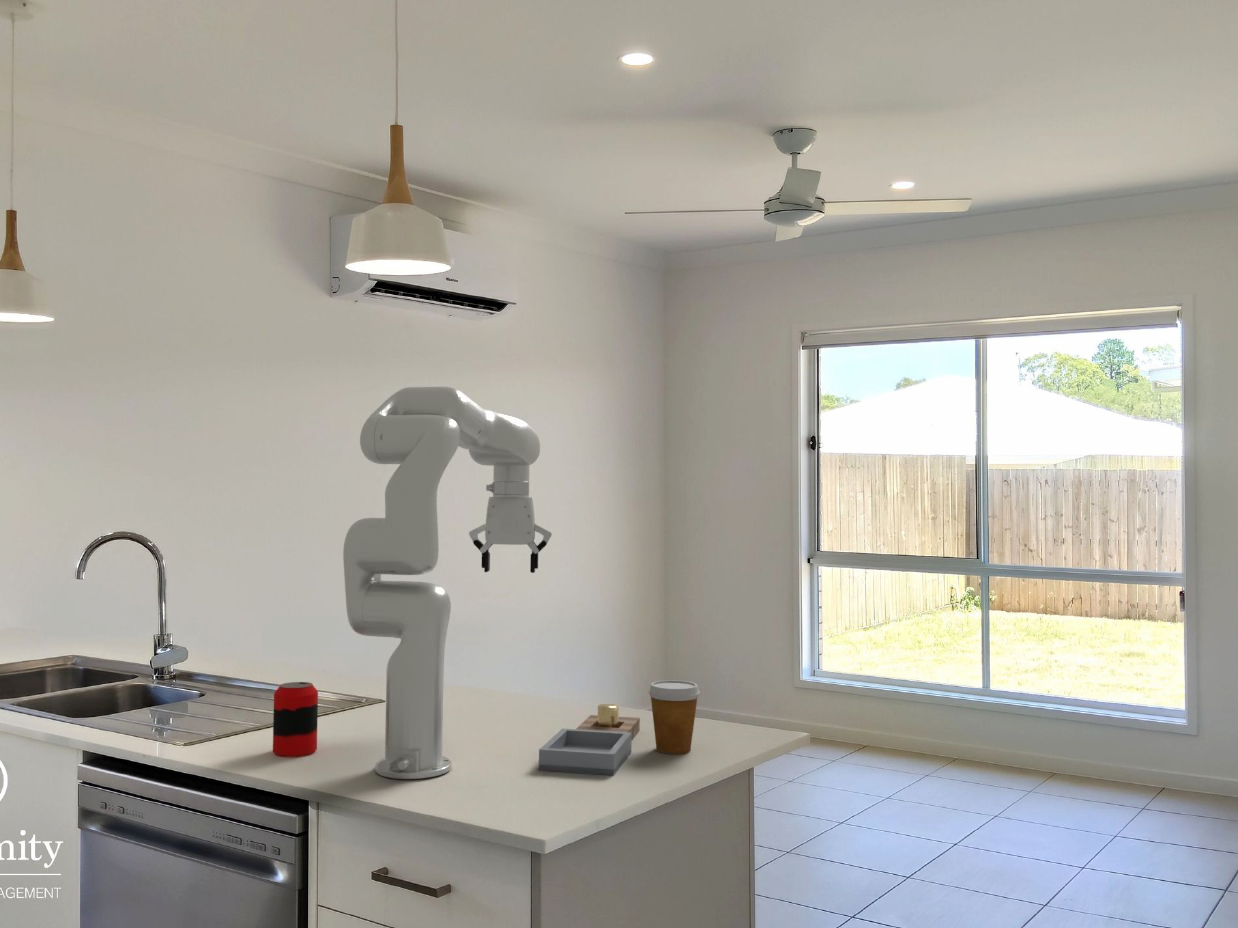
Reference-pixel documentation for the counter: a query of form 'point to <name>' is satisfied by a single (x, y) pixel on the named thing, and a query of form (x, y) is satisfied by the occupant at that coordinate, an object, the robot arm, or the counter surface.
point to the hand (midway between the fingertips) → (509, 571)
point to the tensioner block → (623, 726)
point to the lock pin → (608, 715)
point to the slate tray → (585, 751)
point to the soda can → (295, 719)
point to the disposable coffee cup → (673, 714)
